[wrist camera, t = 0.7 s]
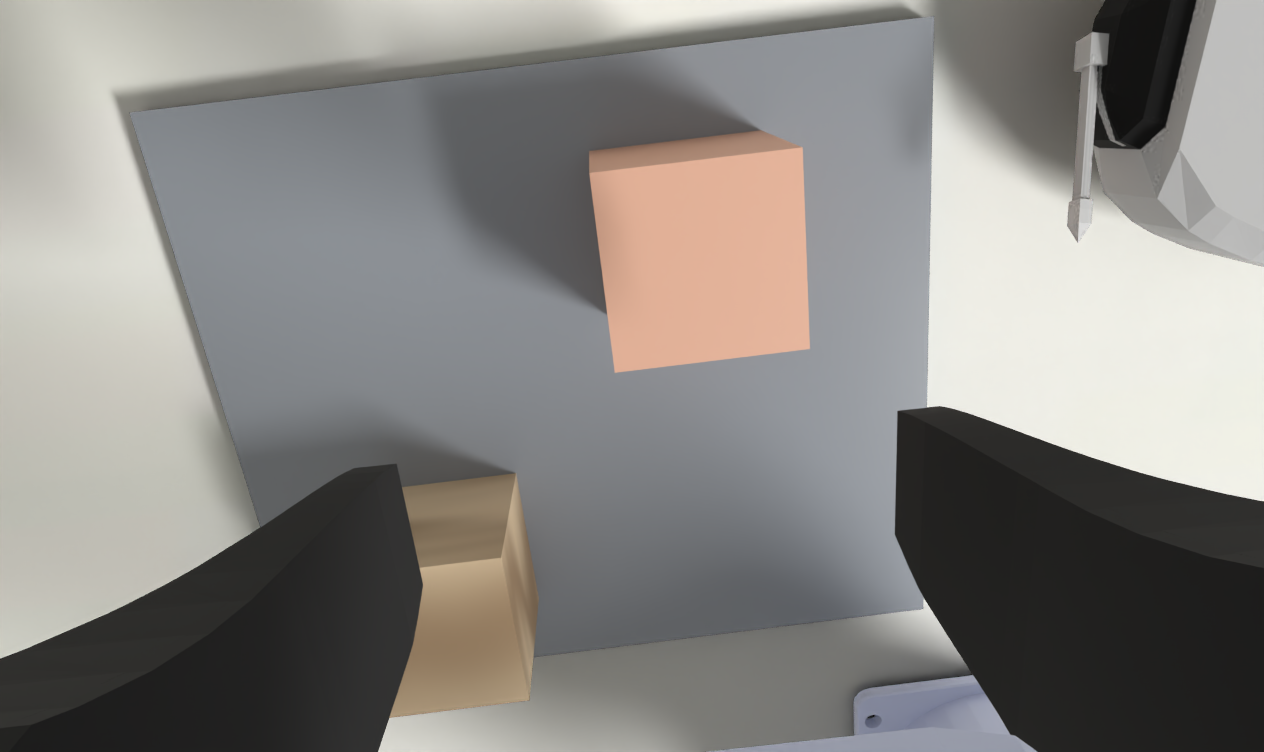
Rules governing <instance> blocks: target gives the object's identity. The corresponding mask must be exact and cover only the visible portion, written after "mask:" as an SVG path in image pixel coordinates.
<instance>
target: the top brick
mask: <svg viewBox="0 0 1264 752" xmlns="http://www.w3.org/2000/svg"><path fill="white" fill-rule="evenodd" d="M402 490H403V494H404V499H405V504H406V508H407V513H408V517H409V522H410V526H411V531H412V536H413V540H414V545H415V549H416V554H417V559H418V563H419V568H420V572H421V577H422V581H423V589H422V596H421V602H420V608H419V615H418V621H417V626H416V631H415V637H414V642H413V646H412V649H411V653H410V656H409V659H408V662H407V665H406V668H405V671H404V675H403V678H402V681H401V684H400V687H399V690H398V693H397V696H396V699H395V702H394V705H393V708H392V711H391V714H390V717H389V718H391V717H399V716H408V715H416V714H424V713H432V712H440V711H448V710H456V709H464V708H472V707H480V706H488V705H496V704H504V703H512V702H520V701H528V700H530V689H531V678H532V667H533V656H534V646H535V635H536V624H537V613H538V602H539V596H538V591H537V585H536V580H535V574H534V569H533V563H532V558H531V552H530V547H529V541H528V536H527V531H526V525H525V520H524V514H523V509H522V503H521V498H520V492H519V487H518V481H517V476H516V473H514V474H505V475H497V476H489V477H481V478H473V479H465V480H457V481H448V482H440V483H432V484H424V485H416V486H408V487H402Z"/></svg>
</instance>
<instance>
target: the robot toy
mask: <svg viewBox="0 0 1264 752" xmlns="http://www.w3.org/2000/svg"><path fill="white" fill-rule="evenodd" d="M1074 72H1081V84H1080V90H1079V91H1080V99H1079V113H1078V127H1077V142H1076V156H1075V170H1074V185H1073V199H1072V201H1071V202H1069V208H1068V223H1067V226H1068V228H1069V229H1070V231H1071V233H1072V234H1073V236H1074V237H1075V239H1076V241H1077V242H1079V241H1080V239H1081V238H1082V236H1083V235H1084V234H1085V232H1086V231H1087V229H1088V228H1089V226H1090V225H1091V221H1092V207H1093V199H1090V186H1091V172H1092V157H1093V150H1094V154H1095V158H1096V163H1097V167H1098V171H1099V175H1100V179H1101V184H1102V188H1103V192H1104V193H1105V194H1106V195H1107V196H1108V197H1109V198H1110V199H1111V200H1112V201H1113V202H1114V203H1115V204H1116V205H1117V206H1118V207H1119V208H1120V210H1121V211H1122V212H1123V213H1124V214H1125V215H1126V216H1127V217H1128V218H1129V219H1130V220H1131V221H1132V222H1134V223H1136V224H1137V225H1139V226H1141V227H1142V228H1144V229H1146V230H1147V231H1149V232H1151V233H1153V234H1155V235H1158V236H1160V237H1163V238H1165V239H1168V240H1170V241H1172V242H1175V243H1177V244H1180V245H1182V246H1185V247H1187V248H1190V249H1194V250H1198V251H1202V252H1206V253H1210V254H1214V255H1218V256H1222V257H1226V258H1230V259H1234V260H1238V261H1242V262H1246V263H1250V264H1254V265H1258V266H1262V267H1264V0H1106V1H1105V2H1104V4H1103V6H1102V8H1101V9H1100V11H1099V13H1098V15H1097V16H1096V18H1095V20H1094V25H1093V30H1092V32H1091V33H1090V34H1088V35H1087V36H1085V37H1083V38H1082V39H1080V40H1078V41H1077V42H1076V46H1075V60H1074Z"/></svg>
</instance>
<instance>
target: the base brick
mask: <svg viewBox="0 0 1264 752" xmlns="http://www.w3.org/2000/svg"><path fill="white" fill-rule="evenodd" d="M589 175H590V182H591V190H592V198H593V206H594V214H595V222H596V229H597V237H598V245H599V253H600V261H601V269H602V276H603V284H604V292H605V300H606V308H607V316H608V323H609V331H610V339H611V347H612V355H613V363H614V370H615V373H617V372H625V371H634V370H642V369H650V368H658V367H666V366H675V365H683V364H691V363H699V362H707V361H716V360H724V359H732V358H740V357H748V356H757V355H765V354H773V353H781V352H789V351H798V350H806V349H810V336H809V308H808V281H807V253H806V225H805V197H804V170H803V147H801V146H798V145H796V144H793V143H791V142H788V141H786V140H784V139H781V138H779V137H776V136H774V135H771V134H769V133H766V132H764V131H762V130H759V131H751V132H743V133H734V134H726V135H718V136H709V137H701V138H693V139H684V140H676V141H668V142H660V143H651V144H643V145H635V146H626V147H618V148H610V149H602V150H593V151H589Z"/></svg>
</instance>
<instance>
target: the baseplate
mask: <svg viewBox="0 0 1264 752" xmlns="http://www.w3.org/2000/svg"><path fill="white" fill-rule="evenodd" d="M933 50H934V16H930V17H922V18H914V19H905V20H897V21H889V22H880V23H872V24H864V25H855V26H847V27H839V28H830V29H822V30H814V31H805V32H797V33H789V34H780V35H772V36H764V37H755V38H747V39H739V40H730V41H722V42H714V43H705V44H697V45H689V46H680V47H672V48H664V49H655V50H647V51H638V52H630V53H622V54H613V55H605V56H597V57H588V58H580V59H572V60H563V61H555V62H547V63H538V64H530V65H522V66H513V67H505V68H497V69H488V70H480V71H472V72H463V73H455V74H447V75H438V76H430V77H422V78H413V79H405V80H397V81H388V82H380V83H372V84H363V85H355V86H347V87H338V88H330V89H321V90H313V91H305V92H296V93H288V94H280V95H271V96H263V97H255V98H246V99H238V100H230V101H221V102H213V103H205V104H196V105H188V106H180V107H171V108H163V109H155V110H146V111H138V112H130V116H131V119H132V123H133V126H134V129H135V132H136V135H137V138H138V142H139V145H140V148H141V151H142V154H143V157H144V161H145V164H146V167H147V170H148V173H149V176H150V179H151V183H152V186H153V189H154V192H155V195H156V198H157V202H158V205H159V208H160V211H161V214H162V217H163V221H164V224H165V227H166V230H167V233H168V236H169V240H170V243H171V246H172V249H173V252H174V255H175V259H176V262H177V265H178V268H179V271H180V274H181V278H182V281H183V284H184V287H185V290H186V293H187V296H188V300H189V303H190V306H191V309H192V312H193V315H194V319H195V322H196V325H197V328H198V331H199V334H200V338H201V341H202V344H203V347H204V350H205V353H206V357H207V360H208V363H209V366H210V369H211V372H212V376H213V379H214V382H215V385H216V388H217V391H218V394H219V398H220V401H221V404H222V407H223V410H224V413H225V417H226V420H227V423H228V426H229V429H230V432H231V436H232V439H233V442H234V445H235V448H236V451H237V455H238V458H239V461H240V464H241V467H242V470H243V474H244V477H245V480H246V483H247V486H248V489H249V492H250V496H251V499H252V502H253V505H254V508H255V511H256V515H257V518H258V521H259V524H260V527H262V526H263V525H265V524H266V523H268V522H269V521H271V520H272V519H274V518H275V517H277V516H278V515H280V514H281V513H283V512H284V511H286V510H287V509H289V508H290V507H292V506H293V505H295V504H296V503H298V502H299V501H301V500H302V499H304V498H305V497H307V496H308V495H310V494H311V493H312V492H314V491H315V490H317V489H319V488H320V487H322V486H323V485H325V484H326V483H328V482H329V481H331V480H333V479H334V478H336V477H338V476H339V475H341V474H343V473H345V472H347V471H349V470H351V469H353V468H359V467H369V466H378V465H388V464H397V467H398V472H399V476H400V481H401V485H402V487H408V486H416V485H424V484H432V483H440V482H448V481H457V480H465V479H473V478H481V477H489V476H497V475H505V474H514V473H516V476H517V481H518V487H519V492H520V498H521V503H522V509H523V514H524V520H525V525H526V531H527V536H528V541H529V547H530V552H531V558H532V563H533V569H534V574H535V580H536V585H537V591H538V596H539V602H538V613H537V624H536V635H535V646H534V656H533V657H539V656H547V655H555V654H563V653H571V652H580V651H588V650H596V649H604V648H612V647H620V646H628V645H636V644H644V643H652V642H660V641H668V640H676V639H684V638H693V637H701V636H709V635H717V634H725V633H733V632H741V631H749V630H757V629H765V628H773V627H781V626H789V625H797V624H806V623H814V622H822V621H830V620H838V619H846V618H854V617H862V616H870V615H878V614H886V613H894V612H902V611H910V610H919V609H923V595H922V594H921V592H920V590H919V588H918V586H917V584H916V582H915V580H914V578H913V575H912V573H911V571H910V569H909V567H908V565H907V562H906V560H905V557H904V555H903V553H902V550H901V548H900V546H899V543H898V541H897V539H896V536H895V499H896V454H897V411H900V410H909V409H919V408H927V374H928V320H929V266H930V212H931V158H932V104H933ZM759 130H762V131H764V132H766V133H769V134H771V135H774V136H776V137H779V138H781V139H784V140H786V141H788V142H791V143H793V144H796V145H798V146H801V147H803V170H804V197H805V225H806V253H807V281H808V308H809V336H810V349H806V350H798V351H789V352H781V353H773V354H765V355H757V356H748V357H740V358H732V359H724V360H716V361H707V362H699V363H691V364H683V365H675V366H666V367H658V368H650V369H642V370H634V371H625V372H617V373H615V370H614V363H613V355H612V347H611V339H610V331H609V323H608V316H607V308H606V300H605V292H604V284H603V276H602V269H601V261H600V253H599V245H598V237H597V229H596V222H595V214H594V206H593V198H592V190H591V182H590V175H589V151H593V150H602V149H610V148H618V147H626V146H635V145H643V144H651V143H660V142H668V141H676V140H684V139H693V138H701V137H709V136H718V135H726V134H734V133H743V132H751V131H759Z"/></svg>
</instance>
